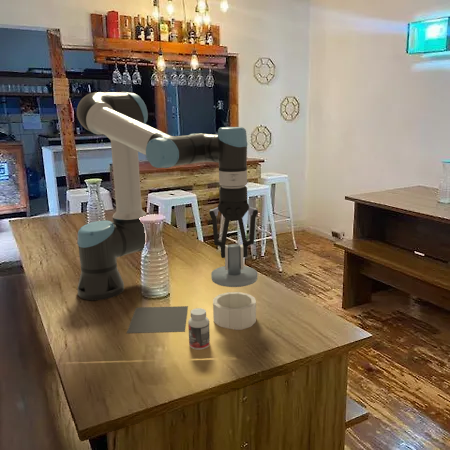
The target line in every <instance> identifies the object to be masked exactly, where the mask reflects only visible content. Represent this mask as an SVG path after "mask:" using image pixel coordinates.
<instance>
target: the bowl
mask: <svg viewBox="0 0 450 450" xmlns="http://www.w3.org/2000/svg"><path fill="white" fill-rule="evenodd" d="M212 305H213V307H212V311H213V312H212V313H213V317H212V319H213V323H214V324H216V325H217V327H221V328H224V329H228V330H234V331H242V330H245V329H249V328H251V327H252V326H254V324H256V323H257V301H256V297H254V296H253V295H251V294H250V293H246V292H241V291H230V292H228V291H227V292H223V293H220V294H218V295H216V296H215V297H213V299H212Z"/></svg>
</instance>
